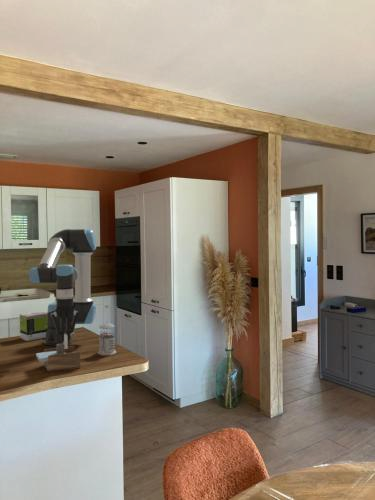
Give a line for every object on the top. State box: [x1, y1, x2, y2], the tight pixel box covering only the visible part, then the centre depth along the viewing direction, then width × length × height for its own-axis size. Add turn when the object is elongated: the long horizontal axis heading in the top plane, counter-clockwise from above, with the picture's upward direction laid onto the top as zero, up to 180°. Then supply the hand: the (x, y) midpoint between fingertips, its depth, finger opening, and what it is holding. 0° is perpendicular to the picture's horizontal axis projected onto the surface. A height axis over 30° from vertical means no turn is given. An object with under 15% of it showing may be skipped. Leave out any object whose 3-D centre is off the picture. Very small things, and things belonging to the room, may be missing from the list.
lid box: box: [43, 345, 81, 373], centre depth 192 cm, size 12×14×8 cm
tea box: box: [19, 310, 48, 342], centre depth 247 cm, size 15×10×15 cm
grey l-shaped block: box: [35, 343, 65, 363], centre depth 189 cm, size 10×12×6 cm
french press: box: [97, 304, 117, 356], centre depth 215 cm, size 10×12×25 cm
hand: (65, 348), depth 192 cm, fingers closed
